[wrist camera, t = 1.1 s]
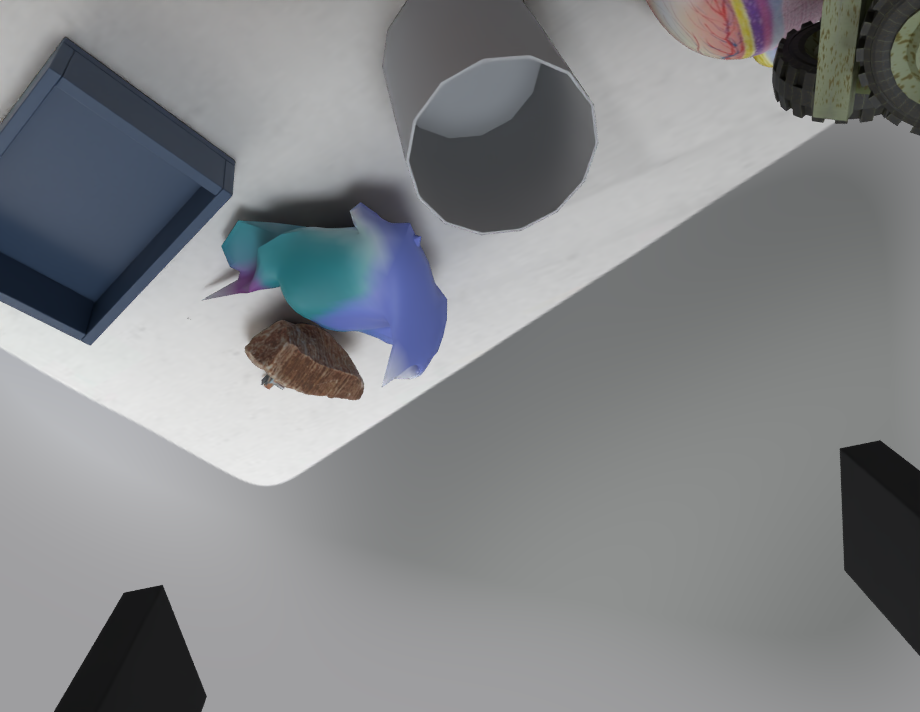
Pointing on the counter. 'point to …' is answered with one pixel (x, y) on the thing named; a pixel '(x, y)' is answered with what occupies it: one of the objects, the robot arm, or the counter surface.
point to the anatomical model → (734, 25)
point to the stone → (305, 360)
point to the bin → (96, 193)
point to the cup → (486, 113)
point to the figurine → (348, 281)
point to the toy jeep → (853, 63)
